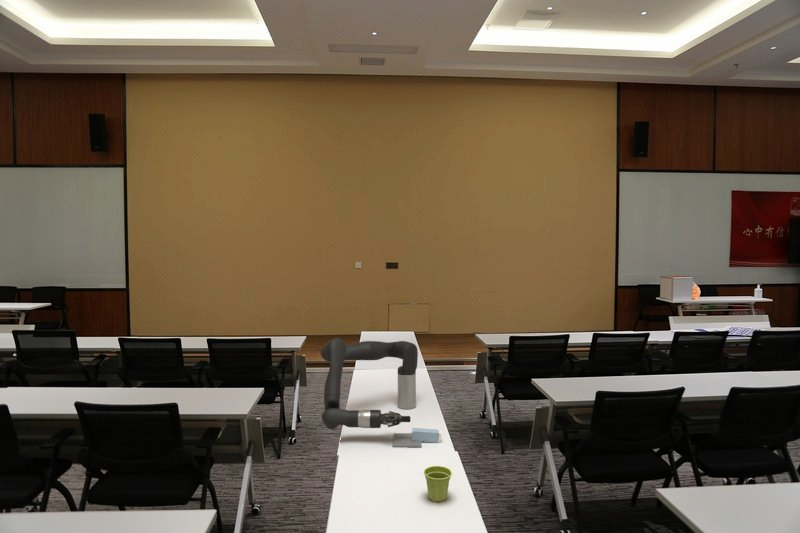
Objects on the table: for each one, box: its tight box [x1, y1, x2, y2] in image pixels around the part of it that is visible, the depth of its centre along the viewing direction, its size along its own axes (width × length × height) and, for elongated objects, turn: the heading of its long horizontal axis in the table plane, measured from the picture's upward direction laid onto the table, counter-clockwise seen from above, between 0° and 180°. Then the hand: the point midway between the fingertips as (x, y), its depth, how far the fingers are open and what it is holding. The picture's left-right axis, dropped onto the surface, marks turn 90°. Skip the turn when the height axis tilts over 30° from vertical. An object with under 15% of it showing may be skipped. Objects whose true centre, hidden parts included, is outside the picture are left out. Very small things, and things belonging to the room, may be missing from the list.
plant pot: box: [423, 465, 453, 502], centre depth 170 cm, size 9×9×9 cm
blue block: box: [411, 427, 442, 444], centre depth 217 cm, size 4×4×12 cm
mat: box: [392, 432, 423, 449], centre depth 218 cm, size 14×12×1 cm
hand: (410, 419), depth 217 cm, fingers closed
